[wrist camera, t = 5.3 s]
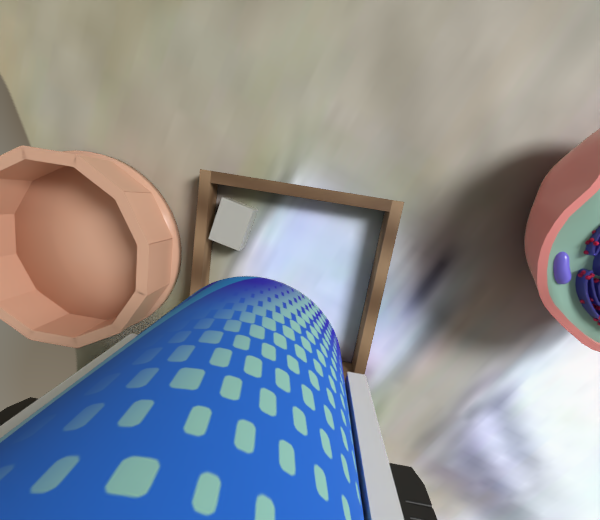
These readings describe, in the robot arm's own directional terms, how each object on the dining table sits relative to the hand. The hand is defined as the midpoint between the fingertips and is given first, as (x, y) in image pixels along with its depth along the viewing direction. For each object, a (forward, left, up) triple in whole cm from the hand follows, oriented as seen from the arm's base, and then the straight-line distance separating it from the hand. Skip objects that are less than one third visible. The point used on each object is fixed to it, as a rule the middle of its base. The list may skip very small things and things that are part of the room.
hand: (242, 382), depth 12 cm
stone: (-5, -6, -17) cm, 19 cm away
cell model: (-10, +26, -17) cm, 33 cm away
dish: (0, -20, -17) cm, 26 cm away
